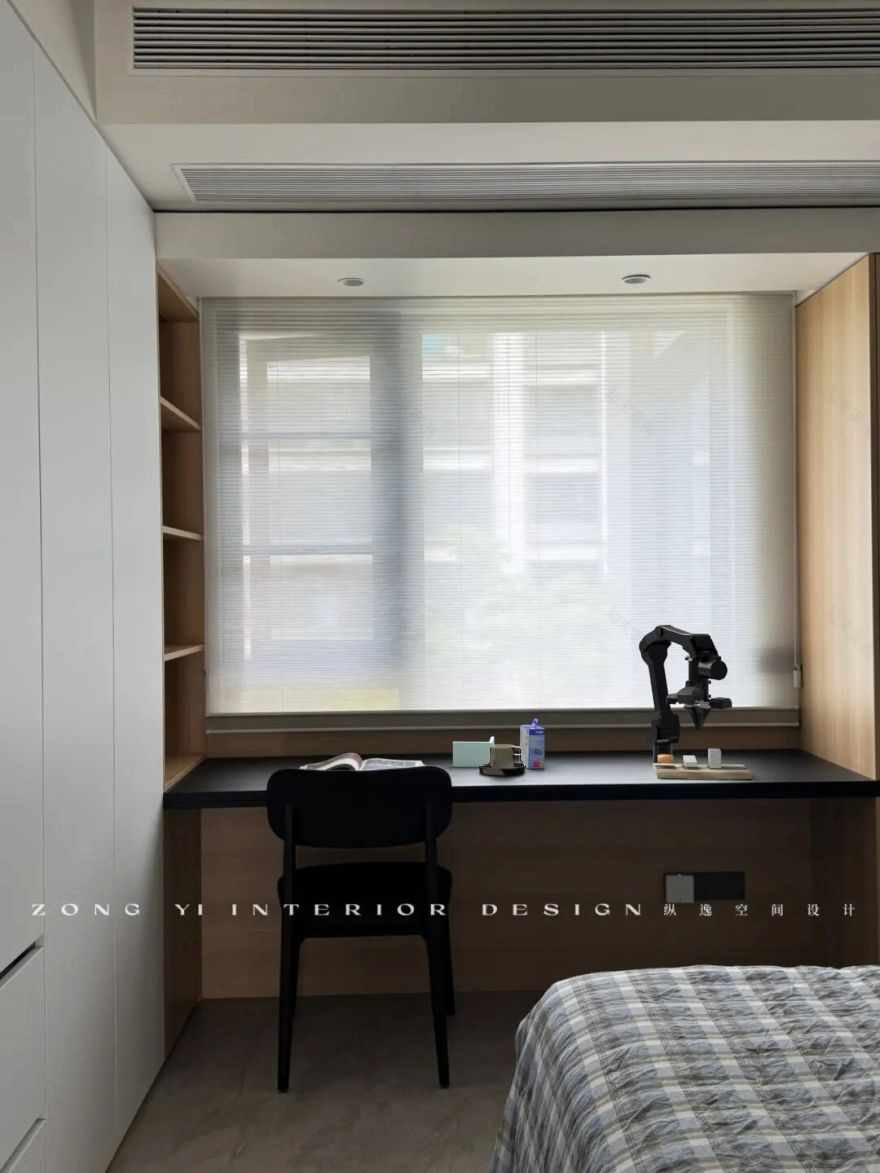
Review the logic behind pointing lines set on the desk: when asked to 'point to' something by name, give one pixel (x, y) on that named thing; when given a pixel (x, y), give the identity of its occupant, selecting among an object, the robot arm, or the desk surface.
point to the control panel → (701, 771)
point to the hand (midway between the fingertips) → (698, 730)
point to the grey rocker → (690, 761)
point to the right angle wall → (471, 753)
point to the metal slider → (714, 758)
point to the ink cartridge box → (532, 745)
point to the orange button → (665, 758)
